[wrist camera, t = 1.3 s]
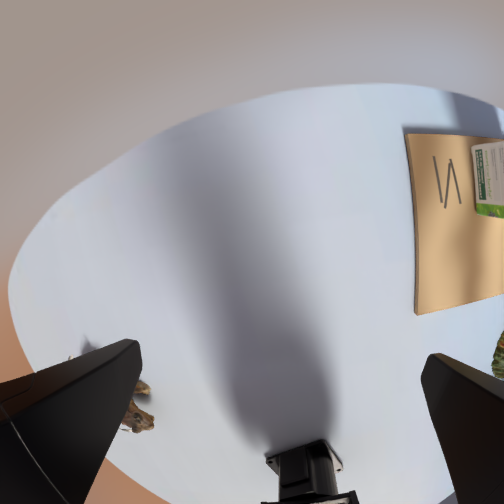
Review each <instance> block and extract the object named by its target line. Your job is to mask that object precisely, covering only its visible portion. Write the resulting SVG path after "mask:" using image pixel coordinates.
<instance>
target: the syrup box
mask: <svg viewBox="0 0 504 504" xmlns="http://www.w3.org/2000/svg"><path fill="white" fill-rule="evenodd" d="M471 153H472V155H473V163H474V177H475V189H476V209H477V214H478V215H482V216H488V217H495V218H501V219H504V141H500V142H494V143H486V144H479V145H474V146H472V147H471Z"/></svg>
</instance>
